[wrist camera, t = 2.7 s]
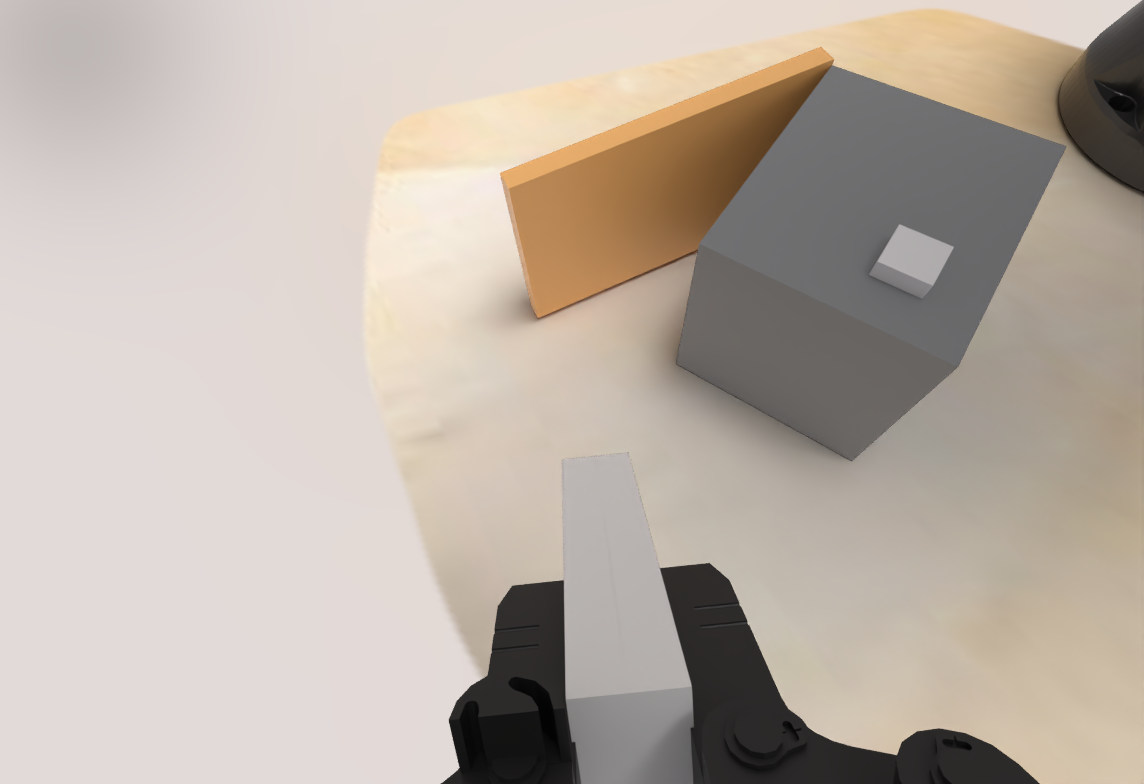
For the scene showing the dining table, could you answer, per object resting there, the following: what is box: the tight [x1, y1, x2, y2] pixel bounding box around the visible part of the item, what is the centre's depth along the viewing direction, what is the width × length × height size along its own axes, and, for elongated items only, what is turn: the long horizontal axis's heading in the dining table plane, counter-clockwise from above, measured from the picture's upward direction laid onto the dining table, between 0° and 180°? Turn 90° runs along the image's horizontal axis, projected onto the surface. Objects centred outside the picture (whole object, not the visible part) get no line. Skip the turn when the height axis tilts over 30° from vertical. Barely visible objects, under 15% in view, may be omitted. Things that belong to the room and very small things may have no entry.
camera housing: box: [676, 65, 1066, 461], centre depth 28 cm, size 14×10×11 cm
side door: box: [500, 47, 834, 318], centre depth 30 cm, size 16×2×10 cm, turn 115°
